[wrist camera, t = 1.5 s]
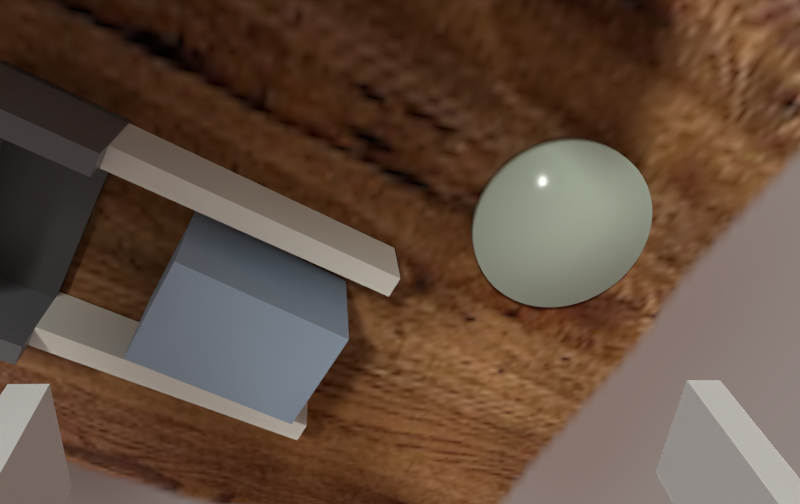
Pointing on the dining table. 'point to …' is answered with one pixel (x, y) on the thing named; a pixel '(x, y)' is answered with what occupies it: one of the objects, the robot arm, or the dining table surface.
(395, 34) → the dining table surface
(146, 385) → the channel
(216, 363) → the painted block
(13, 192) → the bin
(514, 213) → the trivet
